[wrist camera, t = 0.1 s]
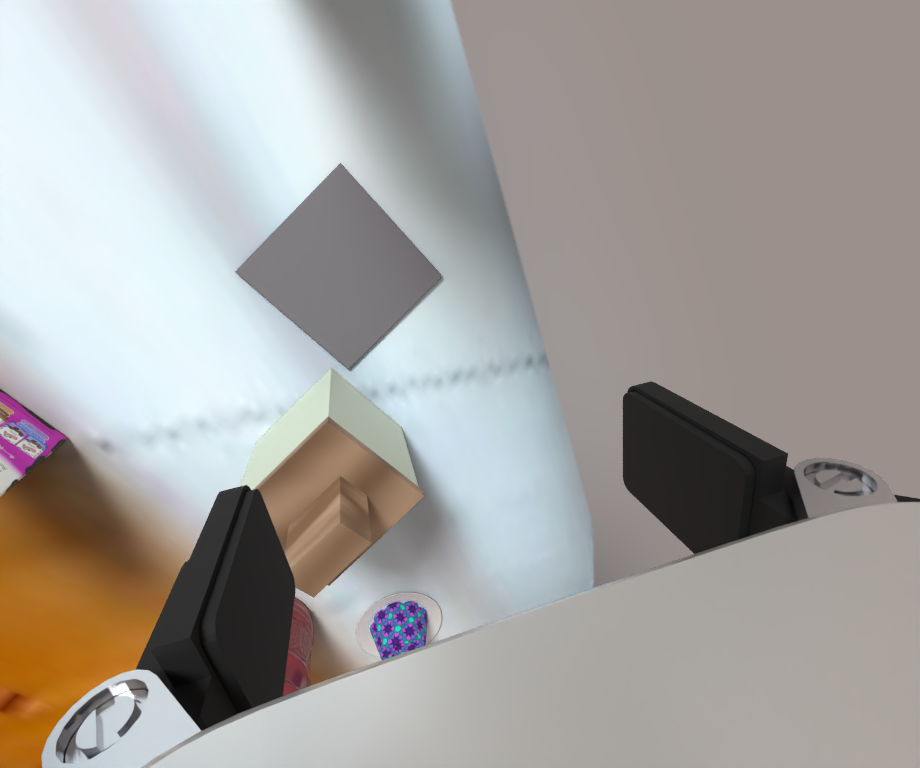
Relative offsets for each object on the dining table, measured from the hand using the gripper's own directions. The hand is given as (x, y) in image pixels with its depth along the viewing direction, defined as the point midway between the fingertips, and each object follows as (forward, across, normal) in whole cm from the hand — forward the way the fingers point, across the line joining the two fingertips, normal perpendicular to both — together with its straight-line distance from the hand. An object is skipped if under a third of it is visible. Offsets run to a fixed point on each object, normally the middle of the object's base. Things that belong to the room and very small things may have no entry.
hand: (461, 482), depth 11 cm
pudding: (+38, +6, +47) cm, 61 cm away
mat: (+37, +2, -1) cm, 37 cm away
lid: (+24, +8, +16) cm, 30 cm away
